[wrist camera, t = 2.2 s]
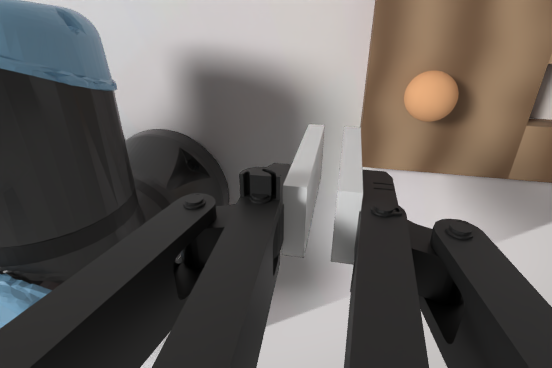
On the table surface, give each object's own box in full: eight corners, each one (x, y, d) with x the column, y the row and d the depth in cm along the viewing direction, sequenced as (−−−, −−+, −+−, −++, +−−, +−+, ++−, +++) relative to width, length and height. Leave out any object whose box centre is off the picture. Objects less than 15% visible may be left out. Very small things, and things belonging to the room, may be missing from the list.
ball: (397, 113, 30) (403, 126, 27) (405, 66, 29) (412, 73, 25) (445, 115, 30) (457, 129, 26) (456, 67, 28) (471, 76, 24)
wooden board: (356, 156, 36) (356, 177, 31) (376, -7, 29) (379, -11, 24) (598, 175, 32) (637, 202, 27) (687, -10, 25) (758, -14, 20)
